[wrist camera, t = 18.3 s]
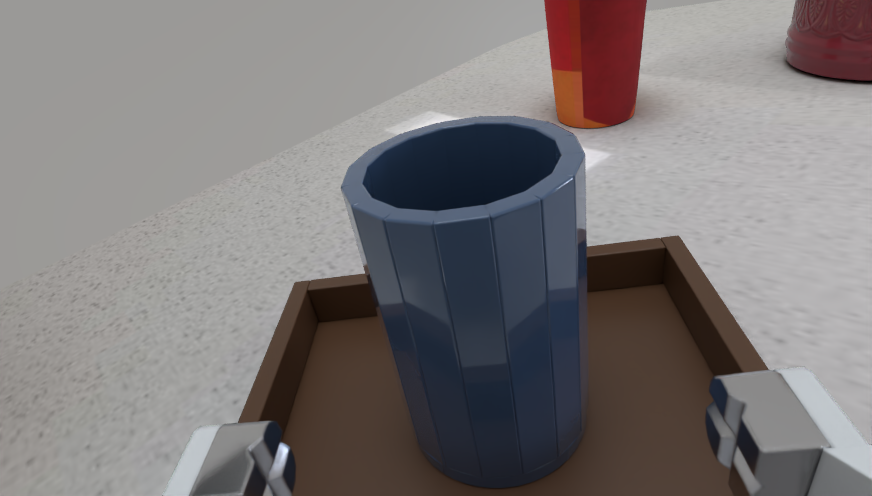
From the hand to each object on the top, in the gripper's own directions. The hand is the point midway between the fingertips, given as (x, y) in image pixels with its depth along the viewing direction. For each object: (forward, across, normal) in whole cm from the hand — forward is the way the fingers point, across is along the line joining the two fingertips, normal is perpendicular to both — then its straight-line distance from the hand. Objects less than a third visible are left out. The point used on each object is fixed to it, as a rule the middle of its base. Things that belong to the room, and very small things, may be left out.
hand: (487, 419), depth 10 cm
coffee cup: (+36, -10, +8) cm, 38 cm away
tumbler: (+7, 0, +8) cm, 10 cm away
